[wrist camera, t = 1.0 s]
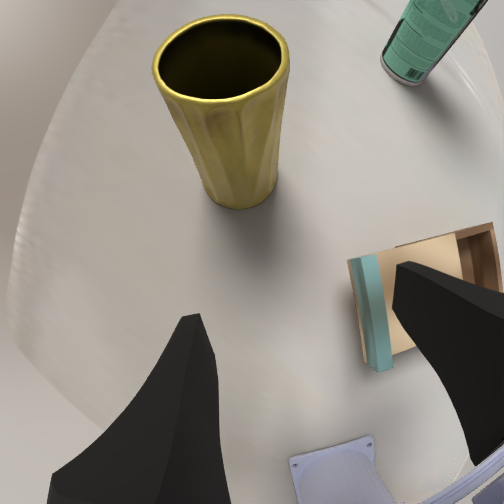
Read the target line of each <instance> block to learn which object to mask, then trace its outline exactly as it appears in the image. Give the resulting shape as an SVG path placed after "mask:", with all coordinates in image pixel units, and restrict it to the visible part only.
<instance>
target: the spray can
mask: <svg viewBox="0 0 504 504" xmlns="http://www.w3.org/2000/svg"><path fill="white" fill-rule="evenodd" d="M487 1H488V0H410V1H409V3H408V5H407V7H406V9H405V11H404V13H403V14H402V16H401V18H400V20H399V22H398V24H397V26H396V27H395V29H394V31H393V33H392V35H391V37H390V39H389V40H388V42H387V44H386V46H385V48H384V50H383V52H382V54H381V56H380V61H381V64H382V66H383V68H384V70H385V71H386V72H387V73H388V74H389V75H390V76H391V77H392V78H394V79H395V80H397V81H398V82H400V83H402V84H405V85H408V86H418V85H420V84H421V83H422V82H423V81H424V79H425V78H426V77H427V76H428V75H429V73H430V72H431V71H432V70H433V69H434V67H435V66H436V65H437V64H438V62H439V61H440V60H441V59H442V58H443V56H444V55H445V54H446V53H447V51H448V50H449V49H450V48H451V46H452V45H453V44H454V43H455V42H456V40H457V39H458V38H459V37H460V35H461V34H462V33H463V32H464V30H465V29H466V28H467V27H468V25H469V24H470V23H471V22H472V20H473V19H474V18H475V16H476V15H477V14H478V13H479V11H480V10H481V9H482V8H483V6H484V5H485V4H486V2H487Z"/></svg>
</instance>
